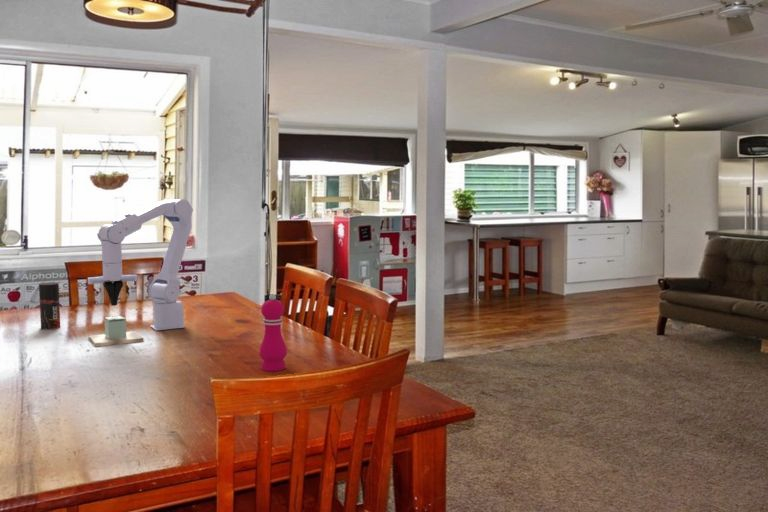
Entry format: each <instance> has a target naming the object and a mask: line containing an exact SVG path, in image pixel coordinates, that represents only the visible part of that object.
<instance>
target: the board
mask: <svg viewBox="0 0 768 512" xmlns="http://www.w3.org/2000/svg"><path fill="white" fill-rule="evenodd" d="M87 338H88V340H89V342H90V343H91V344H93V346H94V347H102V346H103V347H104V346H111V345H122V344H130V343H140V342H144V336H142V335H141V334H139V333H138V332H137V331H135V330H133V331H131V330H130V331H126V338H117V339H108V338H107V337H105V333H104V334H95V335H88V336H87Z"/></svg>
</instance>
